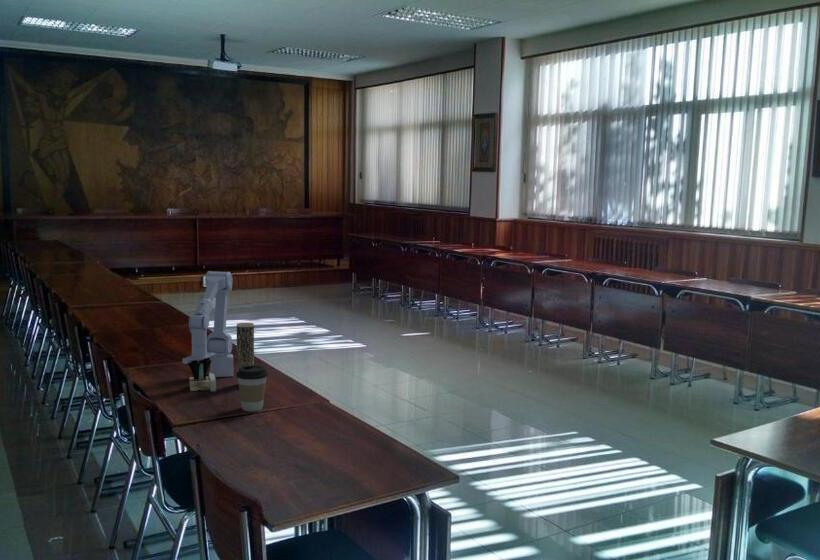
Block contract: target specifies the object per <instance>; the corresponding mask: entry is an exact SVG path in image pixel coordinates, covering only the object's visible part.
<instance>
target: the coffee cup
mask: <svg viewBox="0 0 820 560" xmlns="http://www.w3.org/2000/svg"><path fill="white" fill-rule="evenodd" d="M235 376H236V379H237V378H238V383H239V386H238V390H239V396H240V404H241V408H242V410H243V411H244V412H249V413H250V412H251V413H252V412H259V411H261V410H262V409H263V407H264V401H265V400H264V399H265V392H266V384H267V377H268V376H269V373H268V370H266V367H264V366H262V365H255V364H254V365H250V366H243V367H241V368H239V371H238V372H237V371H236V375H235Z"/></svg>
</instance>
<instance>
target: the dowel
mask: <svg viewBox="0 0 820 560" xmlns="http://www.w3.org/2000/svg"><path fill="white" fill-rule="evenodd" d="M196 381H204V372H203V363H200V367H199V379H198V380H196Z"/></svg>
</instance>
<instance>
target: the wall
mask: <svg viewBox="0 0 820 560" xmlns="http://www.w3.org/2000/svg"><path fill="white" fill-rule="evenodd" d="M208 376H209V378H210V390H209V391H210V392H217V380H216V377H215V376H214V373H212V374H209V373H208Z"/></svg>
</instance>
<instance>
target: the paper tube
mask: <svg viewBox="0 0 820 560" xmlns="http://www.w3.org/2000/svg"><path fill="white" fill-rule="evenodd" d="M250 365H255V323H253V322H238V323H236V373H237V372H238V371H239V368H241V367H243V366H250ZM236 382H237V383H236V384H237V386H238V387H239V383H238V378H237V377H236Z"/></svg>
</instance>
